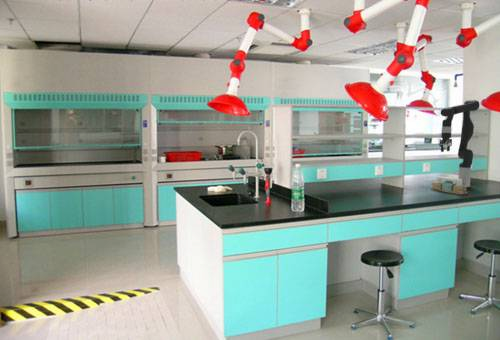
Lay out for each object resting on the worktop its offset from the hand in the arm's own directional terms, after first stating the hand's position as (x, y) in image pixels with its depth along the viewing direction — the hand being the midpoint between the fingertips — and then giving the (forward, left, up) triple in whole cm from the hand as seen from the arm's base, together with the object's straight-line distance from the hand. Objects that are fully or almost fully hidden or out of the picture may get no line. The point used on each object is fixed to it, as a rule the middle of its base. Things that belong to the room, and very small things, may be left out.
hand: (445, 151), depth 357 cm
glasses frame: (+6, +9, -26) cm, 28 cm away
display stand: (+6, +9, -32) cm, 34 cm away
